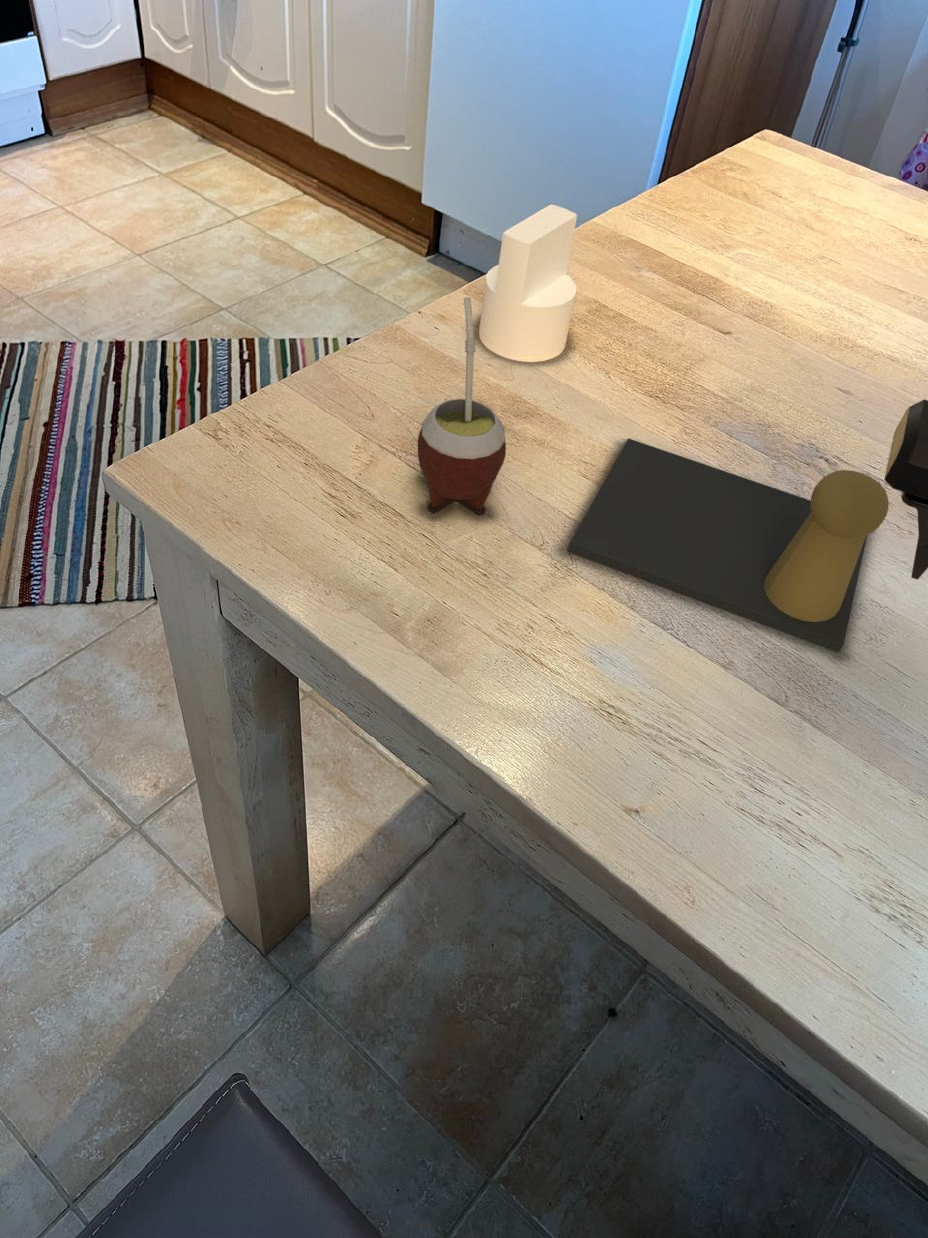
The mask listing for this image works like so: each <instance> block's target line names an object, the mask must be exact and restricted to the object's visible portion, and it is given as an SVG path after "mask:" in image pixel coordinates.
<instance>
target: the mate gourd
mask: <svg viewBox="0 0 928 1238" xmlns="http://www.w3.org/2000/svg"><path fill="white" fill-rule="evenodd" d="M463 306H464V316H465V317H464V318H465V327H466V328H465V330H466V339H464V353H465V354H466V357H465V359H466V360H465V394H464V398H455V399H454V398H453V399H448V400H445V401H443V402H440V403H439V404H437V405H436V406H434V407H433V408H432V409H431V411H430V412H429V413H428V414H427V415H426V417H425V418H424V420H423V421H422V422H421V428H420V430H419V433H418V437H417V459H418V463H419V468H420V470H421V473H422V475H423V477H424V479H425V480H426V482H427V484H428V491H429V496H430V501H431V502H430V504H427V511H428V512H429V513H431V514H433V515H435V514H436V513H439V512H440V511H442V510H443V509H445V508H446V507H448V506H450V505H451V504H454V503H455V502H456V503H458V504H460V505H462V506H463V507H464V508H466V509H467V510H469V511H470V512H472V513H473V514H475V515H476V516H478V517H482V516H483V515H485V514H486V511H487V508H486V507H485V506H484V504H485V502H486V501H487V499H488V497H489V495H490V493H491V490H492V486H493V483H494V482H495V481H496V479H497V477H498V475H499V473H500V471H501V469H502V467H503V465H504V462H505V459H506V453H507V452H506V451H507V444H506V433H505V426H504V424H503V422H502V420H501V419H500V418H499V416H498V415H497V413H495V411H494V409H492V408H491V407H490V406H488V405H487V404H484V403H483V402H480V401H477V400H474V399H473V387H474V386H473V384H474V359H475V358H474V356H475V355H474V354H475V353H476V339H475V332H474V330H475V329H474V320H473V310H472V299H471V297H470V296H465V297H463Z"/></svg>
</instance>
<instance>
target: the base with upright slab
mask: <svg viewBox="0 0 928 1238" xmlns="http://www.w3.org/2000/svg"><path fill="white" fill-rule="evenodd" d="M577 219H578V214H577V213H575V212H573V211H571V210H569V209H567V208H565V207H562V206H558V205H555V204H549V205H548V206H545V207H544V208H542V209H540V210H538V211H536V212H535V213H534V214H532V215H530V216H528V217H527V218H525V219H523V220H522V221H520V222H518V223H516V224H515V225H513V226H511V227H510V228H508V229H506V230H505V231H503V232H502V239H501V246H500V253H499V260H498V264H497V265H495V266H493V267H491V269H489V270H488V271H487V273H486V275H485V281H484V289H483V296H482V304H481V312H480V320H479V327H478V335H479V336H478V337H479V339H480V341H481V343H482V345H483V346H485V348H487V349H488V350H489V351H491V352H493V353H494V354H496V355H498V356H500V357H502V358H505V359H508V360H512V361H516V362H517V361H518V362H524V363H525V362H527V363H535V362H537V363H538V362H544V361H549V360H553V359H554V358H556V357H557V356H559V355H560V354H561V353H562V352H563V351H564V350H565V347H566V345H567V344H566V343H567V340H568V333H569V329H570V324H571V319H572V314H573V310H574V305H575V299H576V295H577V285H576V282H575V281H574V280H573V278H572V277H571V276H569V275H568V274H567V271H568V266H569V261H570V256H571V250H572V244H573V240H574V235H575V229H576V224H577Z"/></svg>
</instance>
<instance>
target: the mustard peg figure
mask: <svg viewBox="0 0 928 1238" xmlns="http://www.w3.org/2000/svg"><path fill="white" fill-rule="evenodd" d="M810 500H811V503H810V508H811V511H812V512H811V513H810V515H809V516H808V517H807V519H806V520H805V522H804V523H803V525H802V526H801V527H800V529H799V530H798V532H797V533H796V535H795V536H794V537H793V539H792V540H791V542H790V543H789V545H788V546H787V547H786V549H785V550H784V552H783V553H782V555H781V556H780V557H779V559H778V560H777V562H776V563H775V565H774V566H773V567H772V569H771V570H770V572H769V573H768V575H767V576H766V577H765V582H764V589H765V593H766V595H767V597H768V598H769V600H770V601H771V603H772V604H774V605H775V606H776V607H777V608H778V609H779V610H780V611H782V612H784V613H786V614H787V615H789V616H791V617H793V618H797V619H800V620H803V621H810V622H820V621H826V620H828V619H830V618H832V617H834V616H835V615H836V614H837V612H838V611H839V610H840V607H841V604H842V602H843V599H844V596H845V593H846V590H847V588H848V585H849V582H850V579H851V577H852V574H853V571H854V568H855V566H856V563H857V560H858V557H859V555H860V552H861V549H862V546H863V543H864V541H865V538H866V535H867V536H868V535H870V534H873V533H875V531H876V530H877V529H879V527H880V526H881V525H882V523H883V522H884V521H885V519H886V517H887V516H888V511H889V504H890V503H889V502H890V501H889V496H888V494H887V491H886V488H884V486H883V485H882V484H881V483H880V482H878V481H877V480H876V479H874V477H872V476H869V475H867V474H865V473H863V472H859V471H856V470H851V469H839V470H835V471H833V472H829V473H828V474H826V475H825V476H823V477H822V478H821V479H820V481H819V482H818V483H817V484H816V485H815V486H814V488H813V490H812V492H811V497H810Z"/></svg>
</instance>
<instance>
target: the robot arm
mask: <svg viewBox="0 0 928 1238" xmlns="http://www.w3.org/2000/svg"><path fill="white" fill-rule="evenodd" d="M883 479H884V481H885V482H886V483H887V484H888V485H889V486H890V487H891V488H892V489H893V490H897V491H898V492H899V491H900V492H901V496H900V497H901V501H902V503H904V504H905V505H906V506H908V507H911V508H913V509H916V512H917V528H918V529H917V530H918V533H917V534H918V536H917V542H916V548H915V554H914V559H913V564H912V570H911V576H910V577H911V579H914V580H919V579H920V578H921V577H922V576H923V575H924V573H926V571H927V570H928V400H927V399H922V400H920V401H918V402H916V403H914V404H912V405H910V406H908V408H906V409H905V411H904V412H903V415H902V417H901V419H900V421H899V422H898V424H897V426H896V428H895V430H894V431H893V436H892V442H891V446H890V451H889V455H888V460H887V464H886V469H885V474H884V478H883Z"/></svg>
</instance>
